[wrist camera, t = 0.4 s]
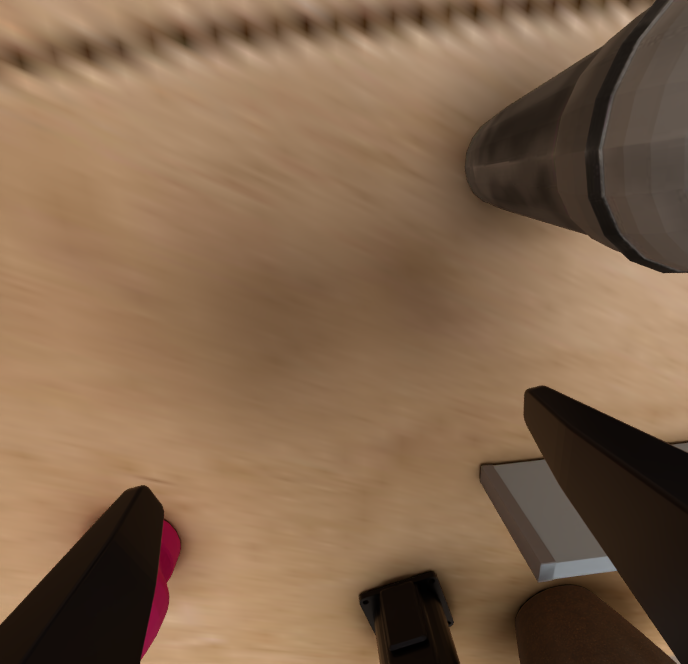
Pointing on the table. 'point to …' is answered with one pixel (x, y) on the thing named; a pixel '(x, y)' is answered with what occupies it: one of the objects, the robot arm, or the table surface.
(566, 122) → the beverage cup
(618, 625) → the plant pot
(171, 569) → the pepper mill
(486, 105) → the table surface
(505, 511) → the grey thin rectangular panel
